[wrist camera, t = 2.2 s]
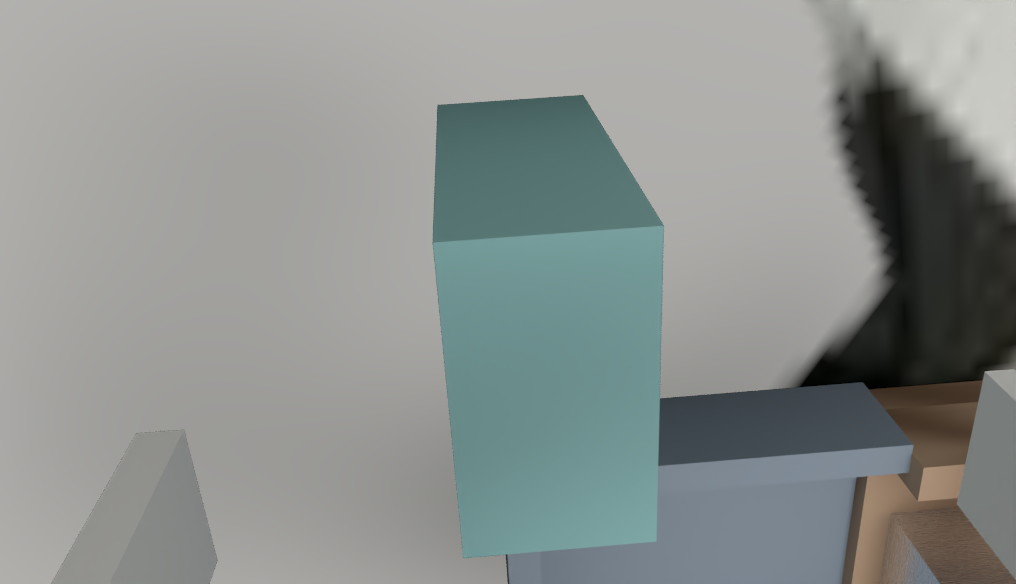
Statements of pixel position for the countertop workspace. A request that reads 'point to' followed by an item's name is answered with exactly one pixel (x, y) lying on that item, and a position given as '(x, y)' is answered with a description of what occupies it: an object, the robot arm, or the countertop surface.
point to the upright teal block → (547, 327)
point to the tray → (746, 491)
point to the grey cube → (939, 551)
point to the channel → (912, 468)
